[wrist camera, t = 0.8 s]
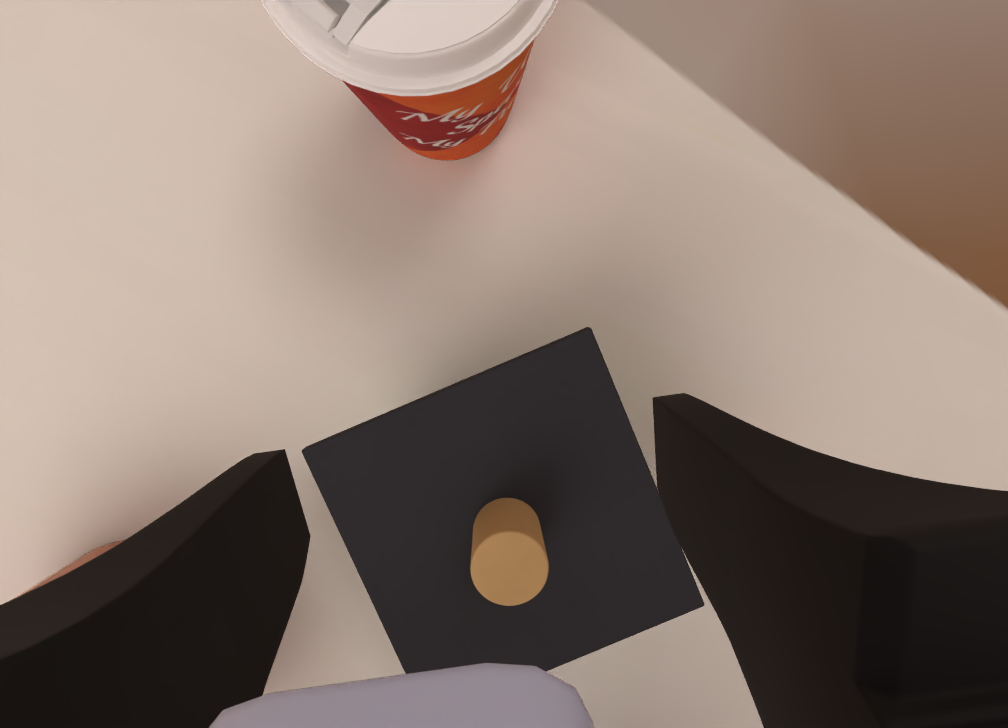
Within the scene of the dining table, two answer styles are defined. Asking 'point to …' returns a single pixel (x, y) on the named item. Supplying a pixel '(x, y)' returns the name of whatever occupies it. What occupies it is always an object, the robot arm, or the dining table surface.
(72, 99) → the dining table surface
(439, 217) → the dining table surface
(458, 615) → the dark square pegged slab
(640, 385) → the dining table surface
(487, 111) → the paper cup
